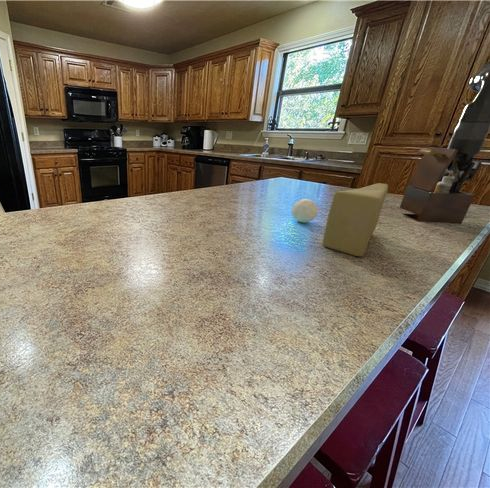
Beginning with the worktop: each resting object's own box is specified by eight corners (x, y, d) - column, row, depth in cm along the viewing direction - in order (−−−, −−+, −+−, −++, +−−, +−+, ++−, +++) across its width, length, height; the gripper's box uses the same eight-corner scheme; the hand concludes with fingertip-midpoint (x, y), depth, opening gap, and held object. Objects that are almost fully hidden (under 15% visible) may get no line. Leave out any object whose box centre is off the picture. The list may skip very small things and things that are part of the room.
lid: (430, 147, 92) (415, 144, 92) (458, 149, 82) (441, 146, 82) (408, 185, 98) (394, 182, 98) (432, 191, 87) (416, 188, 87)
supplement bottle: (434, 204, 97) (446, 175, 93) (454, 208, 92) (467, 177, 88) (424, 205, 95) (436, 176, 91) (444, 209, 90) (457, 178, 86)
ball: (294, 229, 90) (282, 210, 89) (306, 217, 94) (295, 198, 93) (315, 225, 84) (302, 203, 83) (327, 211, 87) (315, 191, 86)
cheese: (351, 228, 84) (365, 180, 78) (388, 237, 77) (408, 185, 71) (319, 245, 71) (333, 189, 65) (361, 258, 64) (382, 197, 58)
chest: (435, 213, 100) (446, 187, 96) (461, 223, 89) (475, 194, 85) (397, 212, 102) (407, 186, 98) (418, 221, 91) (430, 193, 87)
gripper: (504, 139, 78) (477, 196, 84) (462, 137, 91) (442, 187, 97) (474, 138, 79) (449, 195, 85) (437, 137, 92) (418, 186, 98)
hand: (445, 191), depth 91 cm, fingers closed on supplement bottle, 5 cm apart
